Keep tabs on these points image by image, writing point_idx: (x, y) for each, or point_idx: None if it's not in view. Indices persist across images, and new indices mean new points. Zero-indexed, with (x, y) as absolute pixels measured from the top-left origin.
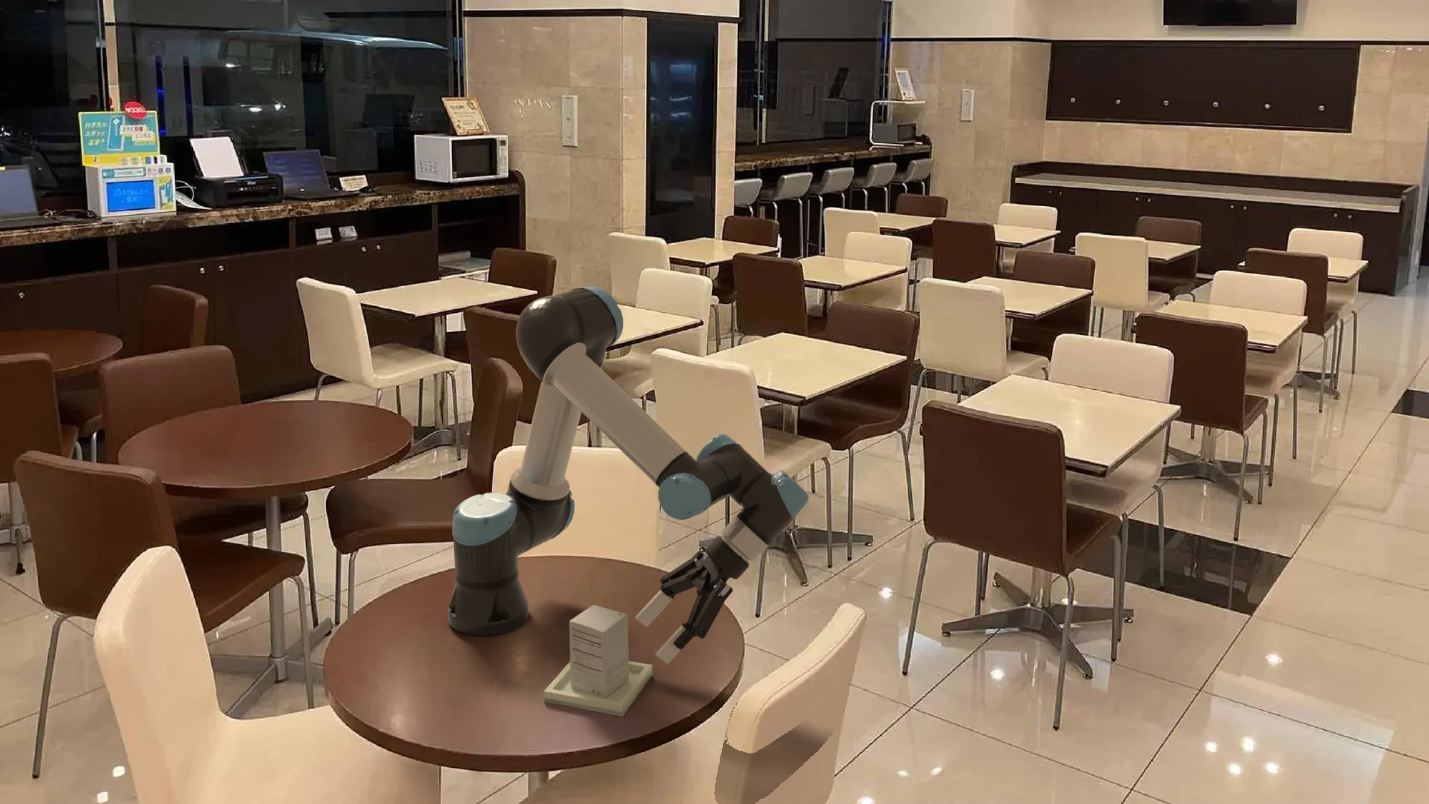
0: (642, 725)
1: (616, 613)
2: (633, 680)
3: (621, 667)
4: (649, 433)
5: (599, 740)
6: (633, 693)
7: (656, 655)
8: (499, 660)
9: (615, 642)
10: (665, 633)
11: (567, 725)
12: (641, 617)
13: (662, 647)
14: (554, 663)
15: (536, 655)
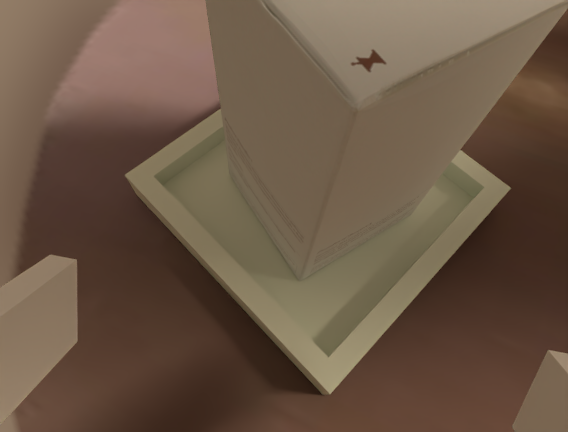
0: (56, 223)
1: (397, 46)
2: (292, 297)
3: (275, 213)
4: None
5: (72, 104)
6: (189, 246)
7: (52, 255)
8: (545, 51)
9: (252, 94)
10: None
11: (183, 71)
12: (555, 389)
13: (23, 285)
14: (499, 148)
15: (555, 125)
